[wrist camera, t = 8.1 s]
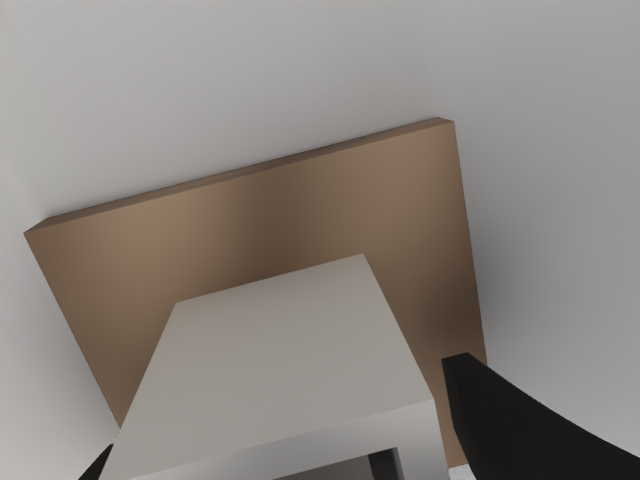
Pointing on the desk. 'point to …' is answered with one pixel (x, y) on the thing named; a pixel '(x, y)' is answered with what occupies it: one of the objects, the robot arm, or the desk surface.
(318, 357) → the sleeve
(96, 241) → the duct base
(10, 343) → the desk surface
